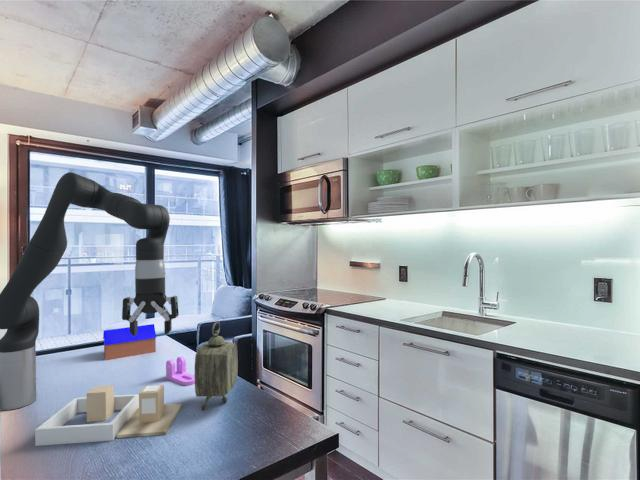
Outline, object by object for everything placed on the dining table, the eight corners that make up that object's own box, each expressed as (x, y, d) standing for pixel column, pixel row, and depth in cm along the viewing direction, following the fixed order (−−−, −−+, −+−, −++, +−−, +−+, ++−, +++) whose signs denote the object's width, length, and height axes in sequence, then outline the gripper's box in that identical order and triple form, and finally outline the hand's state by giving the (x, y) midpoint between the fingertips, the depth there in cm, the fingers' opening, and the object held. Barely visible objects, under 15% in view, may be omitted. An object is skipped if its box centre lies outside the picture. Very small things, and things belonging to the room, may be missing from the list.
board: (116, 438, 92) (116, 434, 92) (140, 408, 108) (140, 406, 108) (165, 434, 94) (165, 431, 94) (182, 406, 110) (182, 403, 110)
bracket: (166, 378, 132) (165, 359, 132) (180, 374, 136) (179, 355, 136) (187, 387, 124) (186, 366, 124) (201, 381, 128) (200, 362, 128)
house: (103, 353, 162) (102, 327, 162) (152, 346, 173) (151, 321, 173) (104, 361, 152) (104, 333, 152) (156, 352, 163) (156, 326, 163)
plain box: (86, 421, 101) (86, 393, 101) (95, 413, 106) (95, 385, 106) (106, 420, 101) (105, 392, 101) (114, 412, 106) (113, 384, 106)
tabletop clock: (211, 392, 119) (210, 316, 119) (238, 392, 119) (237, 316, 119) (194, 413, 105) (193, 327, 105) (226, 413, 104) (224, 327, 104)
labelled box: (138, 423, 98) (138, 393, 98) (145, 414, 103) (145, 385, 103) (158, 422, 99) (157, 391, 98) (164, 412, 104) (163, 384, 104)
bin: (35, 445, 89) (35, 429, 89) (75, 411, 107) (75, 397, 107) (112, 440, 91) (112, 424, 91) (139, 407, 109) (139, 394, 109)
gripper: (117, 278, 96) (118, 339, 96) (173, 276, 98) (173, 336, 98) (128, 275, 104) (129, 331, 104) (180, 274, 105) (181, 329, 105)
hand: (151, 334), depth 101 cm, fingers open, 8 cm apart
